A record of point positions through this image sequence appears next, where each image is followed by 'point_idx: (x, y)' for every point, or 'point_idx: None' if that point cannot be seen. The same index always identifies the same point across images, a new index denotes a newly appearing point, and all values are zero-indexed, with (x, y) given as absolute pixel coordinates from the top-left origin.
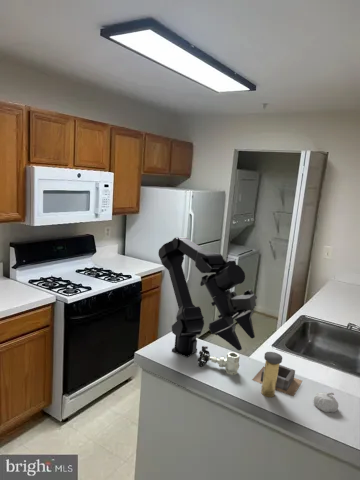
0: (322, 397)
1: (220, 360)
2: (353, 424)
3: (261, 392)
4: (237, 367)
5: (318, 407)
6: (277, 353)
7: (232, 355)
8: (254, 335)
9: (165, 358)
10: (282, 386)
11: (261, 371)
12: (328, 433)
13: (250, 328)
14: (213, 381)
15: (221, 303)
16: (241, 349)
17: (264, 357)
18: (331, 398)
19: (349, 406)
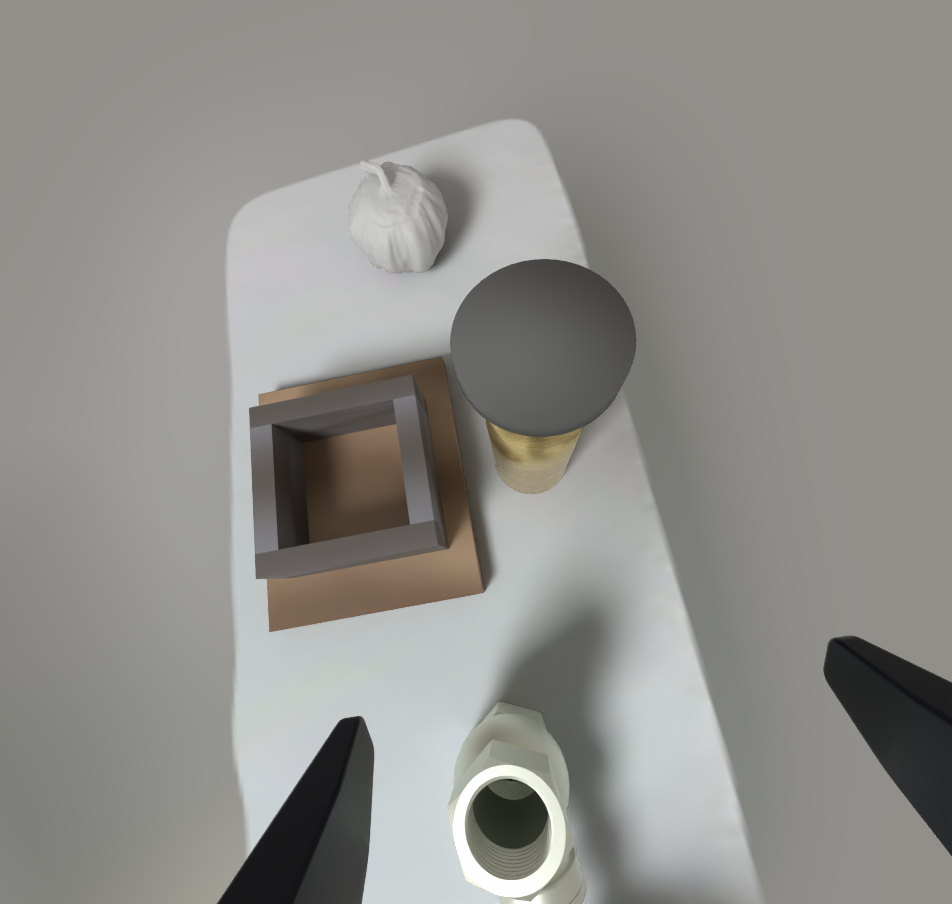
0: (420, 199)
1: (578, 897)
2: (411, 152)
3: (560, 476)
4: (517, 718)
5: (444, 240)
6: (451, 342)
7: (477, 845)
8: (334, 735)
9: None
10: (426, 416)
11: (340, 605)
12: (549, 181)
13: (308, 899)
14: (685, 786)
15: None
16: (839, 637)
17: (598, 414)
18: (396, 170)
19: (296, 201)
